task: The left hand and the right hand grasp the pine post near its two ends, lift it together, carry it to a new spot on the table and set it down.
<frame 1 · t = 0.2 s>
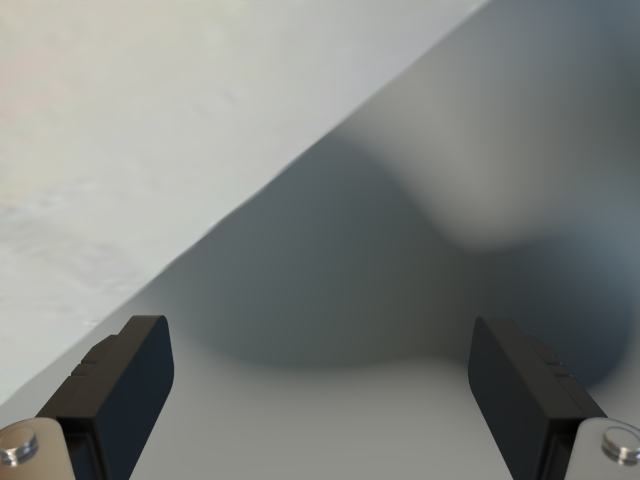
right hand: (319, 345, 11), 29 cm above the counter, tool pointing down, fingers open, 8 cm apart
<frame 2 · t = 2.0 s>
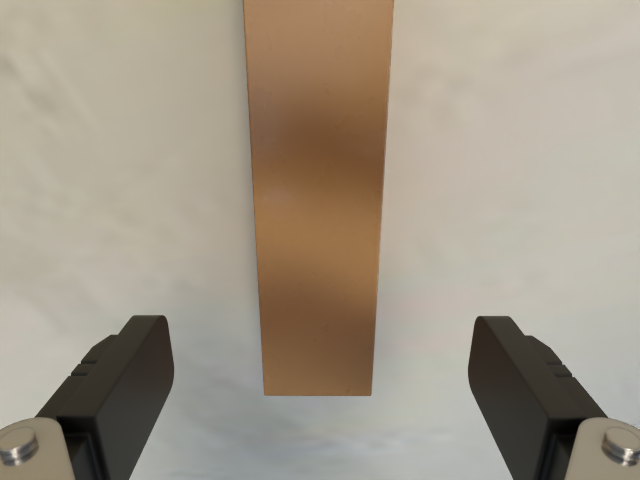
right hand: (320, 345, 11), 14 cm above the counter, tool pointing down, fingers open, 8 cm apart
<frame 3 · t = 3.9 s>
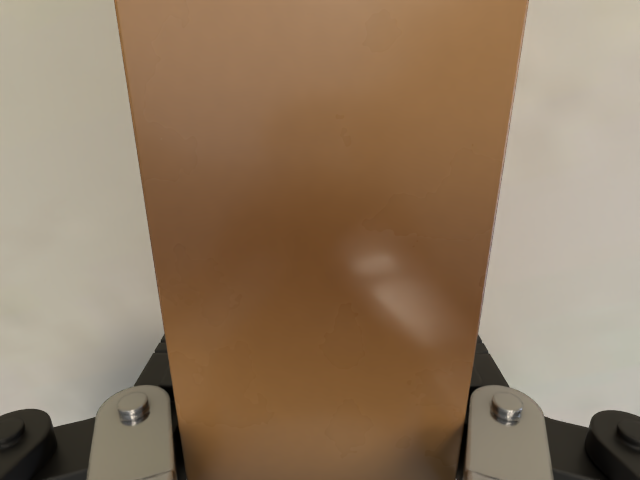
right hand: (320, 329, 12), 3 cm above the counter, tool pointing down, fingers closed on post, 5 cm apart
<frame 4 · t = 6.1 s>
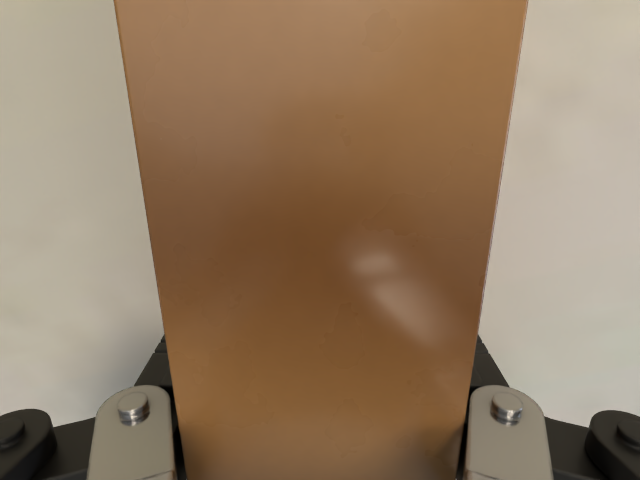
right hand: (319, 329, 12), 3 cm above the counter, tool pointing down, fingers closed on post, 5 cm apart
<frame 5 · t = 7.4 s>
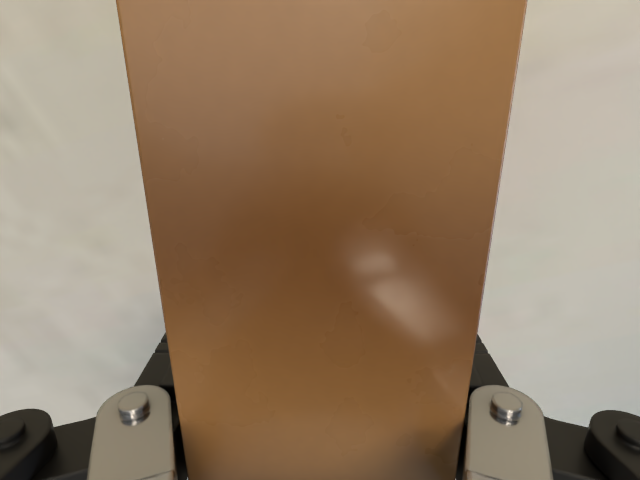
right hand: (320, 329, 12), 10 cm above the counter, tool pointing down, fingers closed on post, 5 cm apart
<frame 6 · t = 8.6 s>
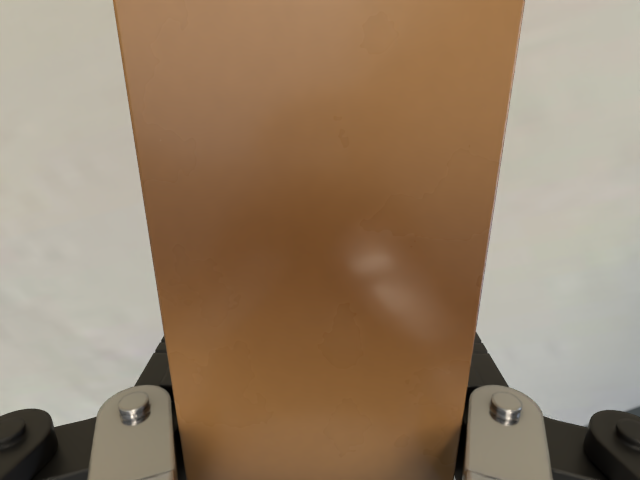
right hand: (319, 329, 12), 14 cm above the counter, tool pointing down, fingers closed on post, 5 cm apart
when the left hand's fingers open (3 cm above the counter, at t = 11.2 s): post drops 1 cm, on the counter.
when the right hand's fingers open (4 cm above the counter, at t = 11.2 s): post drops 1 cm, on the counter.
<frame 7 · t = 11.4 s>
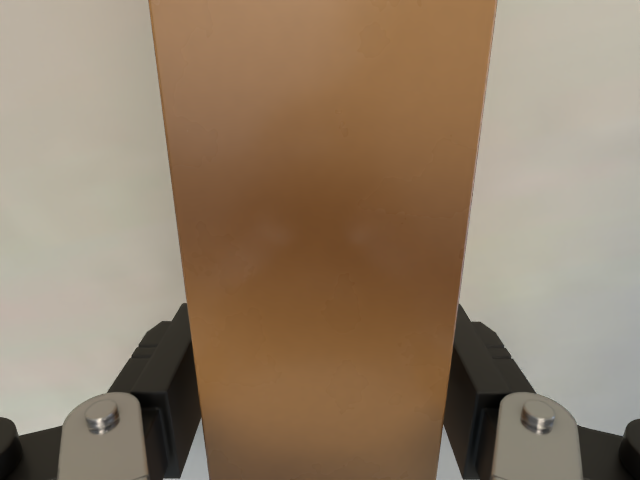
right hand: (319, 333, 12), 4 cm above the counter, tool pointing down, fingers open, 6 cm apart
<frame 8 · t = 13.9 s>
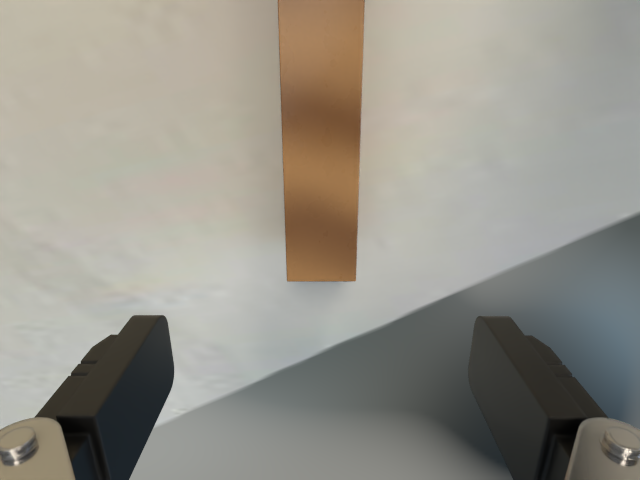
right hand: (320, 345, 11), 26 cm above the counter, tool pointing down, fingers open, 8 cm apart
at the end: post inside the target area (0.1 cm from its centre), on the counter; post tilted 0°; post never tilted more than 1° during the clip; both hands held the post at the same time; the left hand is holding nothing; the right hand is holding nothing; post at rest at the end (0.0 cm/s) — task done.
